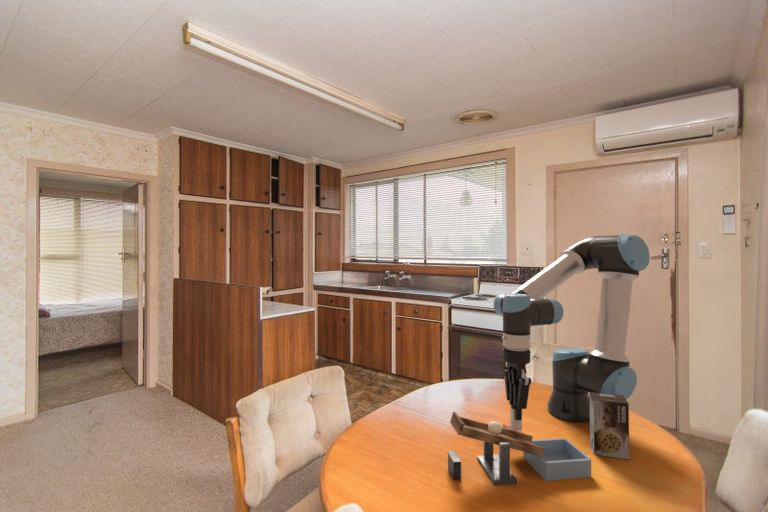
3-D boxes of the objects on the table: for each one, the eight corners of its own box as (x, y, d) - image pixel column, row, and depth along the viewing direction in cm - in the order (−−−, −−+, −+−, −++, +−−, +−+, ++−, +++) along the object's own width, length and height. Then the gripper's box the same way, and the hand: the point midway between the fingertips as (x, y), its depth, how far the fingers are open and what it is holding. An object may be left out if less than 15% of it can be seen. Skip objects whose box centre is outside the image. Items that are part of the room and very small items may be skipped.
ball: (500, 422, 102) (489, 416, 101) (506, 428, 98) (494, 422, 98) (494, 433, 102) (483, 428, 101) (500, 440, 98) (488, 434, 98)
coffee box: (623, 449, 111) (623, 394, 110) (630, 460, 105) (630, 403, 104) (589, 444, 114) (589, 391, 113) (593, 454, 108) (593, 399, 107)
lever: (517, 431, 112) (520, 421, 112) (544, 458, 97) (547, 447, 97) (443, 411, 109) (446, 401, 109) (458, 436, 94) (462, 424, 94)
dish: (565, 453, 108) (565, 437, 108) (592, 477, 97) (592, 459, 97) (522, 456, 107) (522, 440, 107) (544, 480, 95) (544, 463, 95)
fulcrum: (497, 457, 106) (497, 422, 106) (517, 483, 94) (517, 444, 94) (444, 461, 104) (444, 426, 104) (457, 488, 93) (457, 448, 92)
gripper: (494, 342, 114) (494, 420, 114) (514, 354, 101) (514, 441, 101) (518, 342, 115) (517, 418, 115) (540, 353, 102) (540, 439, 102)
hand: (516, 429), depth 108 cm, fingers closed
